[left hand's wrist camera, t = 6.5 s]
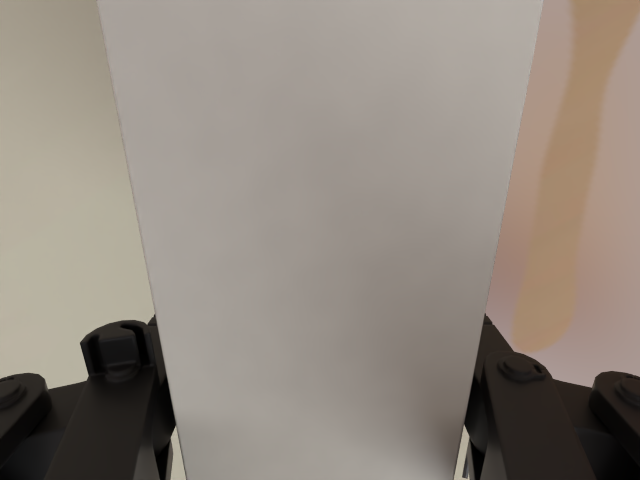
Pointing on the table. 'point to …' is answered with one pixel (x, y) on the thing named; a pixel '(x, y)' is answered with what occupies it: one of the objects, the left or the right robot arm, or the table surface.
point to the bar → (320, 219)
